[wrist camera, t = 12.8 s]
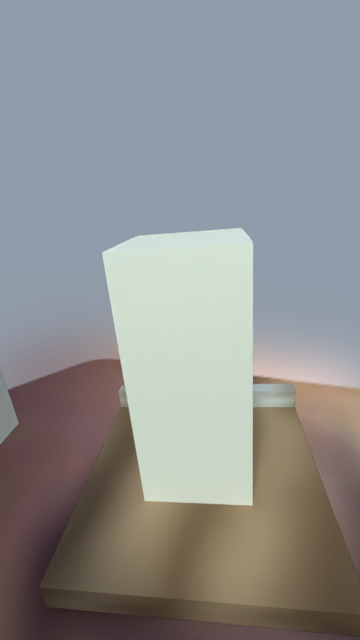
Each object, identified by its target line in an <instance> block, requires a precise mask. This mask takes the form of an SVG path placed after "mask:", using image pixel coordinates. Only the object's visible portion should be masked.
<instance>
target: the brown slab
mask: <svg viewBox="0 0 360 640" xmlns="http://www.w3.org/2000/svg"><path fill="white" fill-rule="evenodd" d="M119 397H120V403H121V409H120V411H119V413H118V415H117V418H116V420H115V422H114V424H113V426H112V429H111V431H110V433H109V435H108V437H107V439H106V442H105V444H104V446H103V448H102V450H101V453H100V455H99V457H98V459H97V461H96V463H95V466H94V468H93V470H92V472H91V474H90V477H89V479H88V481H87V483H86V485H85V487H84V490H83V492H82V494H81V496H80V498H79V501H78V503H77V505H76V507H75V509H74V511H73V514H72V516H71V518H70V520H69V522H68V525H67V527H66V529H65V531H64V533H63V535H62V538H61V540H60V542H59V544H58V546H57V549H56V551H55V553H54V555H53V557H52V559H51V562H50V564H49V566H48V568H47V570H46V573H45V575H44V577H43V579H42V581H41V583H40V586H39V589H40V592H41V594H42V597H43V599H44V602H45V604H46V607H50V608H61V609H72V610H82V611H93V612H104V613H115V614H125V615H136V616H147V617H157V618H168V619H179V620H190V621H200V622H211V623H222V624H232V625H243V626H254V627H265V628H275V629H286V630H297V631H308V632H318V633H329V634H340V635H350V636H360V583H359V580H358V577H357V575H356V572H355V569H354V566H353V564H352V561H351V558H350V556H349V553H348V550H347V548H346V545H345V542H344V539H343V537H342V534H341V531H340V529H339V526H338V523H337V521H336V518H335V515H334V512H333V510H332V507H331V504H330V502H329V499H328V496H327V494H326V491H325V488H324V485H323V483H322V480H321V477H320V475H319V472H318V469H317V467H316V464H315V461H314V458H313V456H312V453H311V450H310V448H309V445H308V442H307V440H306V437H305V434H304V431H303V429H302V426H301V423H300V421H299V418H298V415H297V413H296V410H295V388H294V386H293V384H253V506H251V505H227V504H204V503H180V502H156V501H145V500H144V494H143V488H142V482H141V476H140V471H139V465H138V459H137V453H136V447H135V441H134V436H133V430H132V424H131V418H130V412H129V406H128V401H127V395H126V389H125V385H122V386H121V388H120V390H119Z"/></svg>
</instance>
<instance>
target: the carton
mask: <svg viewBox="0 0 360 640" xmlns="http://www.w3.org/2000/svg"><path fill="white" fill-rule="evenodd" d="M102 255H103V261H104V267H105V273H106V278H107V284H108V290H109V295H110V301H111V307H112V313H113V319H114V325H115V331H116V336H117V342H118V348H119V354H120V360H121V366H122V372H123V377H124V383H125V389H126V395H127V401H128V406H129V412H130V418H131V424H132V430H133V436H134V441H135V447H136V453H137V459H138V465H139V471H140V476H141V482H142V488H143V494H144V500H145V501H156V502H180V503H204V504H227V505H251V506H253V242H252V241H251V239H250V238H249V237H248V235H247V234H246V233H245V232H244V231H243V229H242V228H236V229H222V230H210V231H197V232H183V233H171V234H170V233H169V234H156V235H143V236H136V237H134V238H132V239H130V240H128V241H126V242H123V243H121V244H119V245H117V246H115V247H113V248H111V249H109V250H107V251H104V252H103V253H102Z"/></svg>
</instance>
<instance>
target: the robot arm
mask: <svg viewBox="0 0 360 640" xmlns="http://www.w3.org/2000/svg"><path fill="white" fill-rule="evenodd" d="M17 425H18V420H17V417H16V414H15V411H14V408H13V405H12V402H11V399H10V396H9V393H8V390H7V387H6V384H5V381H4V378H3V375H2V372H1V369H0V444H1V443H2V442H3V441H4V440H5V438H6V437H7V436H8V435H9V434H10V433H11V432H12V430H13V429H14V428H15V427H16V426H17Z"/></svg>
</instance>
